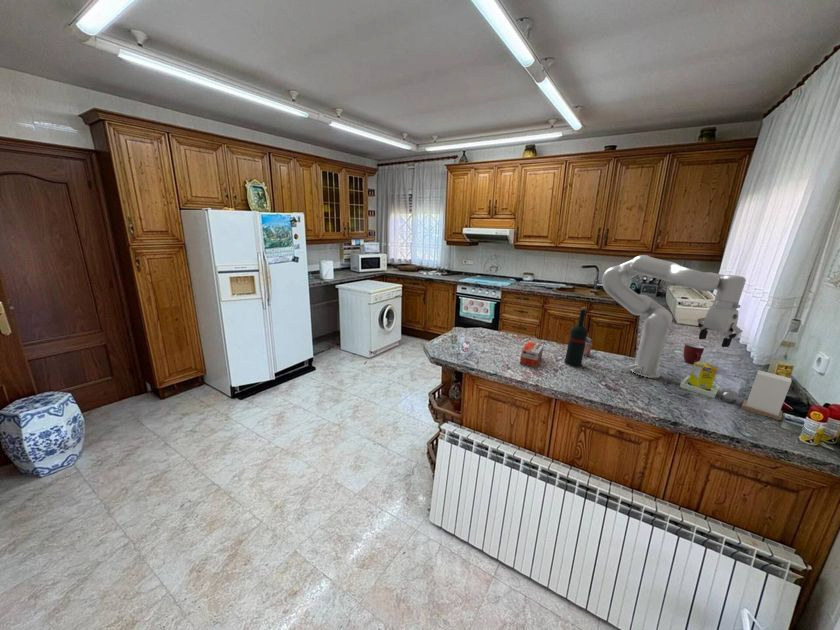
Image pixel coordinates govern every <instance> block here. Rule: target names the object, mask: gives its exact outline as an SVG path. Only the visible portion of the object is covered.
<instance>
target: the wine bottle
mask: <svg viewBox="0 0 840 630" xmlns="http://www.w3.org/2000/svg"><path fill="white" fill-rule="evenodd" d="M586 308H587V307H586V306H581V309H580V312H579V313H580V314H579V317H578V323H577V325H574V326H572V328H571V329H570V333H569V338H568V343H567V348H566V353H565V358H564V359H565V360H564V363H565V364H566V365H568V366H571V367H577V368H579V367H581V366H582V362H583V358H584V356H583V353H584V347H585V342H586V337H587V336H588V329H587V328H586V327H585V326H584V320H585V315H586Z"/></svg>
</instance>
